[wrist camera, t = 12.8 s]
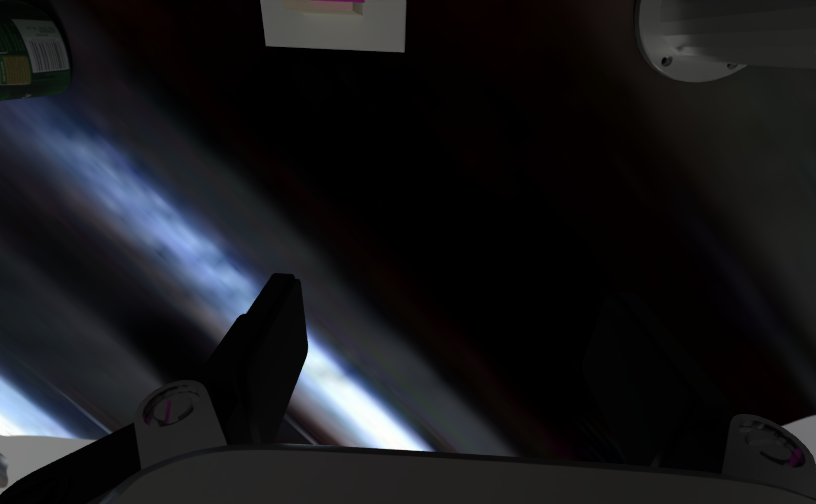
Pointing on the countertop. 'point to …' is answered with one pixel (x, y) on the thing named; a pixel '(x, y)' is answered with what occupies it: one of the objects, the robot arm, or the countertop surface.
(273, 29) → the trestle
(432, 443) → the countertop surface
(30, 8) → the coffee jar
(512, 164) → the countertop surface
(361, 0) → the toy block
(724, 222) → the countertop surface
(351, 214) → the countertop surface
